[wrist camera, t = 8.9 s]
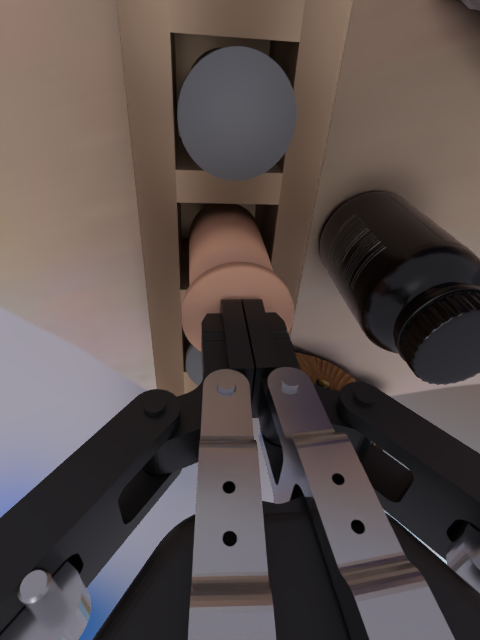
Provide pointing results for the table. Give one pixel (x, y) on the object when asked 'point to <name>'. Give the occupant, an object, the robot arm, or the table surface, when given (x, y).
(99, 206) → the table surface
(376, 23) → the table surface
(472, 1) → the geode
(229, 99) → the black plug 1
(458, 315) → the supplement bottle
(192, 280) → the terracotta plug
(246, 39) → the walnut socket block
